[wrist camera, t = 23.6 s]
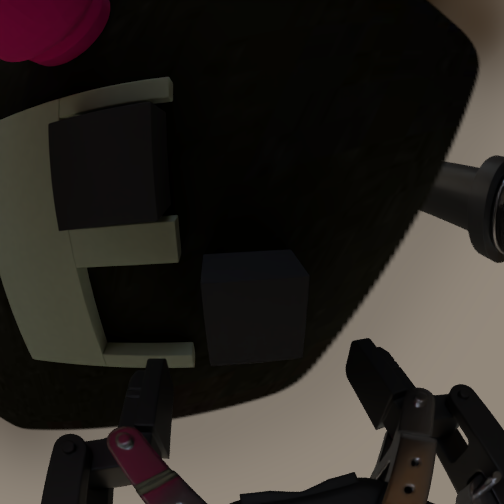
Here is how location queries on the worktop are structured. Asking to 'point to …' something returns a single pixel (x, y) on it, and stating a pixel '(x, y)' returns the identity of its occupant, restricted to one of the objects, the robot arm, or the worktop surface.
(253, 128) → the worktop surface
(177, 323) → the worktop surface
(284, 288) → the black block
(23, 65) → the worktop surface
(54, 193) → the dark charcoal cube
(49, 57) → the pepper mill
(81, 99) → the pale green e-shaped block
